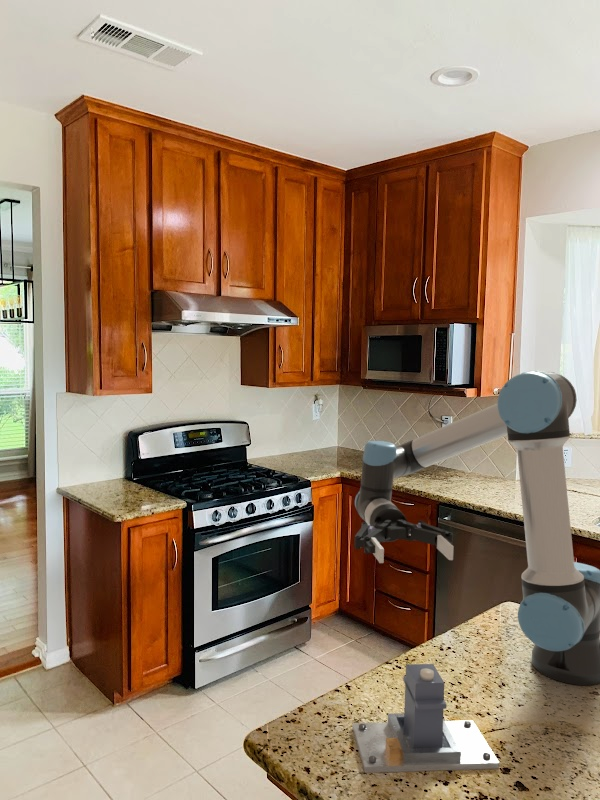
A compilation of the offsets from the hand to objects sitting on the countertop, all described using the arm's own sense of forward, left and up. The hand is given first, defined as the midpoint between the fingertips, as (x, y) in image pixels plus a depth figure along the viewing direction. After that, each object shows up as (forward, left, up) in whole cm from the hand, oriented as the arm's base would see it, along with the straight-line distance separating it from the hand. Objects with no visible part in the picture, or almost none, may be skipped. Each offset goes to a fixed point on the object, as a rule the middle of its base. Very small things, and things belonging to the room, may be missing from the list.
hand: (417, 554), depth 117 cm
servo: (+2, +13, -28) cm, 31 cm away
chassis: (+2, +13, -29) cm, 32 cm away
